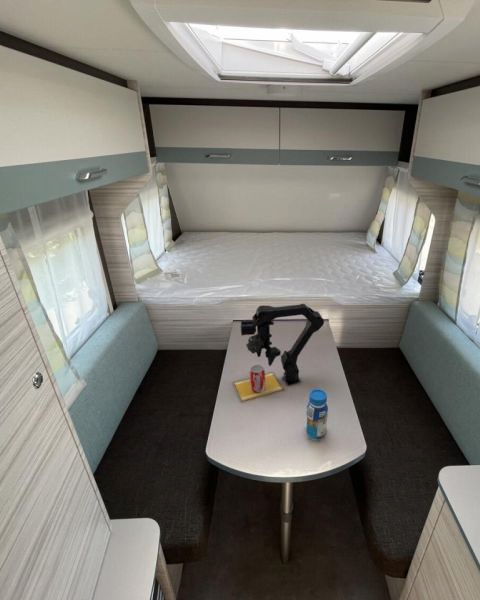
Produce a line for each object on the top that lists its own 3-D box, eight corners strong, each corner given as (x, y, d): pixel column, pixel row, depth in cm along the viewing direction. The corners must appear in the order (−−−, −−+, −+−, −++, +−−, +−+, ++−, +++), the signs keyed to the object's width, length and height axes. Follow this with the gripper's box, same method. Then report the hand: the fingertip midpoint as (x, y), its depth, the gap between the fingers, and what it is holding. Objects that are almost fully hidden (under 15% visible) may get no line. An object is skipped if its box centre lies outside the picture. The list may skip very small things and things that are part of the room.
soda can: (268, 389, 156) (267, 369, 151) (256, 396, 152) (255, 375, 147) (259, 382, 161) (258, 362, 156) (247, 388, 156) (246, 368, 152)
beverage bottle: (305, 424, 136) (306, 386, 128) (325, 425, 136) (328, 387, 128) (305, 441, 129) (307, 401, 120) (327, 441, 128) (330, 402, 120)
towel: (271, 373, 168) (271, 372, 168) (282, 389, 157) (282, 388, 156) (234, 383, 161) (234, 382, 161) (242, 401, 149) (242, 400, 149)
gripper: (237, 330, 151) (239, 358, 158) (260, 347, 138) (261, 377, 145) (257, 323, 158) (258, 350, 164) (281, 338, 144) (281, 367, 151)
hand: (264, 361), depth 156 cm, fingers open, 9 cm apart
